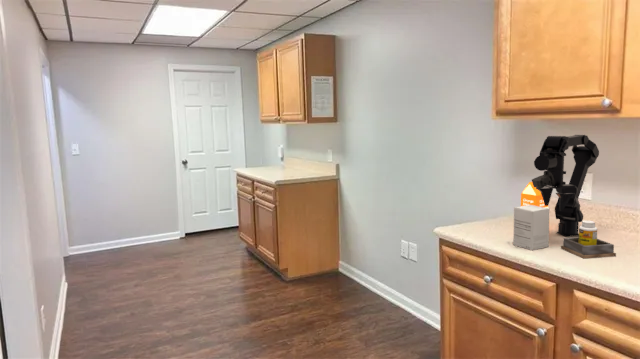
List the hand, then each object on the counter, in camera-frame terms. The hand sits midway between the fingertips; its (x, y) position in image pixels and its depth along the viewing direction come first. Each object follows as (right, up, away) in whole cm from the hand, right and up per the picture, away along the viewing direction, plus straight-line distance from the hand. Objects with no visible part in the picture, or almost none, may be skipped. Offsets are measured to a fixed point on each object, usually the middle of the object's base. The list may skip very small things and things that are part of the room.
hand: (553, 207), depth 173 cm
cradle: (+4, -15, -15) cm, 21 cm away
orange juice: (+5, -10, +26) cm, 28 cm away
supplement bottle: (+4, -14, -15) cm, 21 cm away
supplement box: (-11, -14, -5) cm, 19 cm away
